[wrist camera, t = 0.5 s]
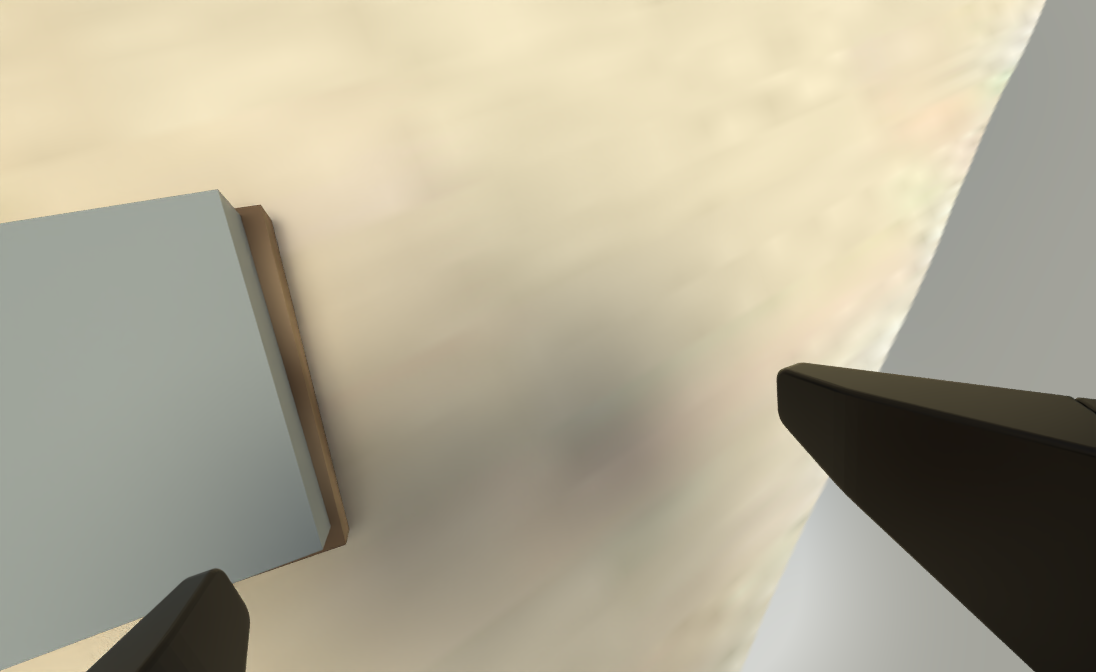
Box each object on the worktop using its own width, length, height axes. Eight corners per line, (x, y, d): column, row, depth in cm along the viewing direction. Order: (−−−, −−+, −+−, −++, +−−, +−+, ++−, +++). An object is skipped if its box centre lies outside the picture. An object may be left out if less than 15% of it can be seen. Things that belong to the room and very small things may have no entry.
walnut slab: (350, 524, 20) (346, 544, 18) (-222, 715, 15) (-336, 778, 13) (274, 225, 20) (260, 205, 18) (-323, 315, 15) (-455, 303, 13)
